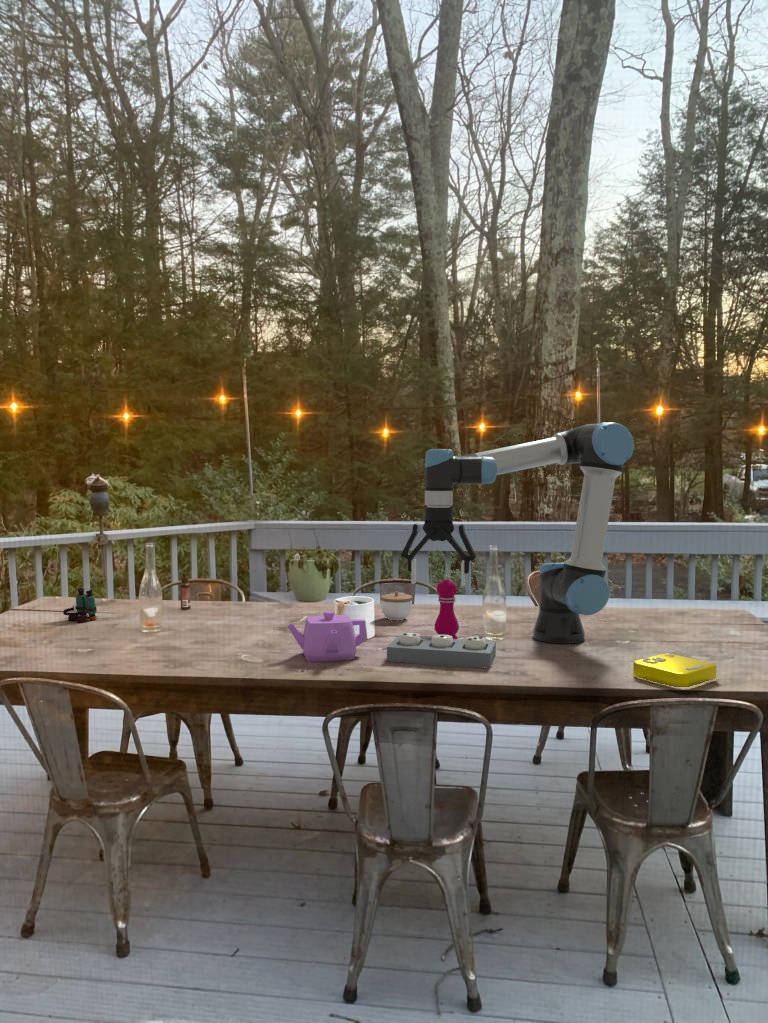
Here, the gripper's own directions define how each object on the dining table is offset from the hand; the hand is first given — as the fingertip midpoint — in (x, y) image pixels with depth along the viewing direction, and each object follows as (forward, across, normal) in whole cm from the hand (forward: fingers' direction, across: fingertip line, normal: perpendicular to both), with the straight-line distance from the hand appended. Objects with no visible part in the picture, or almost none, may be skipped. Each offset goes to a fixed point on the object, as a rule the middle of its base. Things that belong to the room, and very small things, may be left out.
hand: (438, 584), depth 207 cm
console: (+20, -1, +1) cm, 20 cm away
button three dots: (+17, -10, +1) cm, 20 cm away
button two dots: (+18, +8, +1) cm, 19 cm away
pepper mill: (+20, 0, -18) cm, 27 cm away
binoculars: (+21, +124, -18) cm, 127 cm away
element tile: (+21, -60, +6) cm, 64 cm away
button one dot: (+18, -1, +1) cm, 18 cm away
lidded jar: (+20, +22, -46) cm, 55 cm away
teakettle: (+20, +30, +6) cm, 37 cm away
